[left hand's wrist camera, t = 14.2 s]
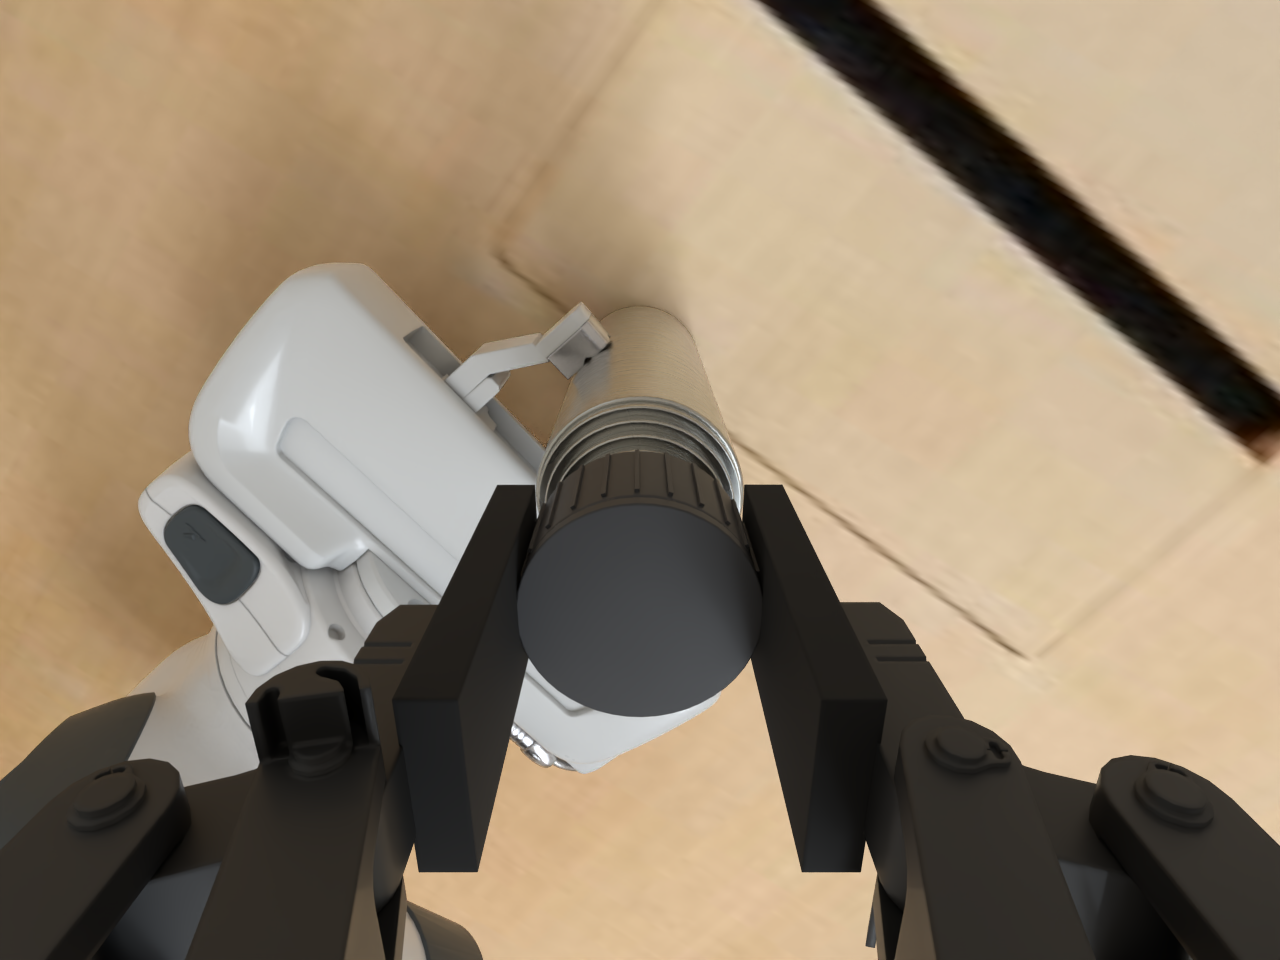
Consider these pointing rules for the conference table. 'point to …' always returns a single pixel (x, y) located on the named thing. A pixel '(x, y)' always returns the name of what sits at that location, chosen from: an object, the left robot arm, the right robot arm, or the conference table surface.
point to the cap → (639, 587)
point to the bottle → (641, 404)
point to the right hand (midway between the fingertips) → (659, 392)
